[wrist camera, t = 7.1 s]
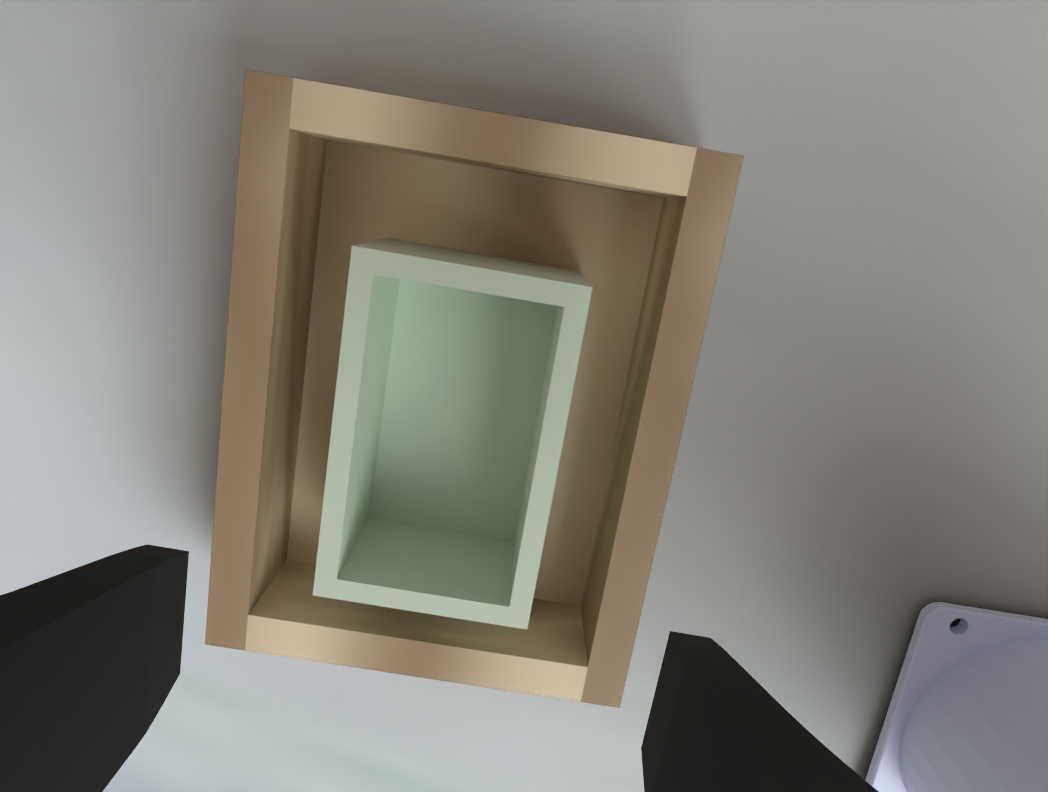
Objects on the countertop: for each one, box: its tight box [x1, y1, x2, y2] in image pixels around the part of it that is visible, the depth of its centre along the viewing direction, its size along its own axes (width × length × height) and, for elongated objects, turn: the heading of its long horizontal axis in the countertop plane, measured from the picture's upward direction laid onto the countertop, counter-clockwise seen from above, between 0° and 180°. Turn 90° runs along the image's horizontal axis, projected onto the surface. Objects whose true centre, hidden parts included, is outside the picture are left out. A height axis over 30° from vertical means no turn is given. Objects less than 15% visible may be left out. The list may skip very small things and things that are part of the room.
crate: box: [205, 70, 744, 708], centre depth 19 cm, size 10×14×4 cm
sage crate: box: [313, 238, 593, 630], centre depth 18 cm, size 5×8×4 cm, turn 170°
